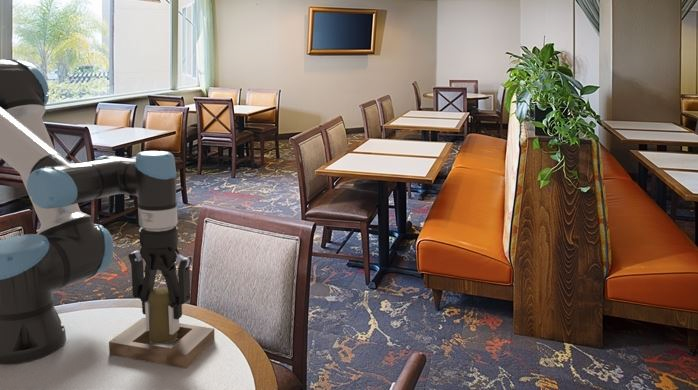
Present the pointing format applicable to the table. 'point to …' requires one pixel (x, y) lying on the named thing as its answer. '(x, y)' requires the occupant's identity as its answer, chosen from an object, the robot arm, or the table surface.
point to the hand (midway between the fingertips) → (162, 329)
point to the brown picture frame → (178, 355)
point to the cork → (160, 317)
